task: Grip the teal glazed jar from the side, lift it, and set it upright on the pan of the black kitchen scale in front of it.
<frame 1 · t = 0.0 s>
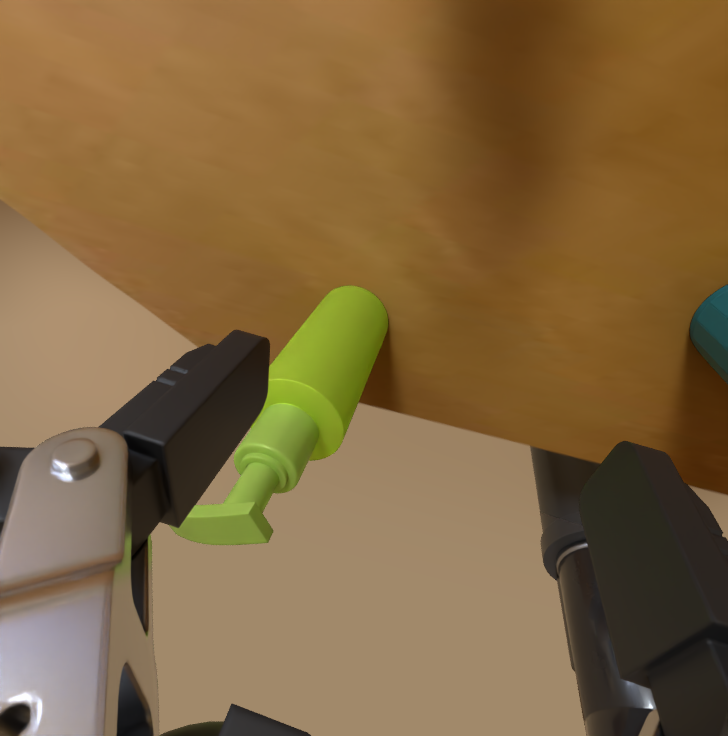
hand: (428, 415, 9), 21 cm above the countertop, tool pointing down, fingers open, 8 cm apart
soap dispenser: (348, 319, 33), on the countertop
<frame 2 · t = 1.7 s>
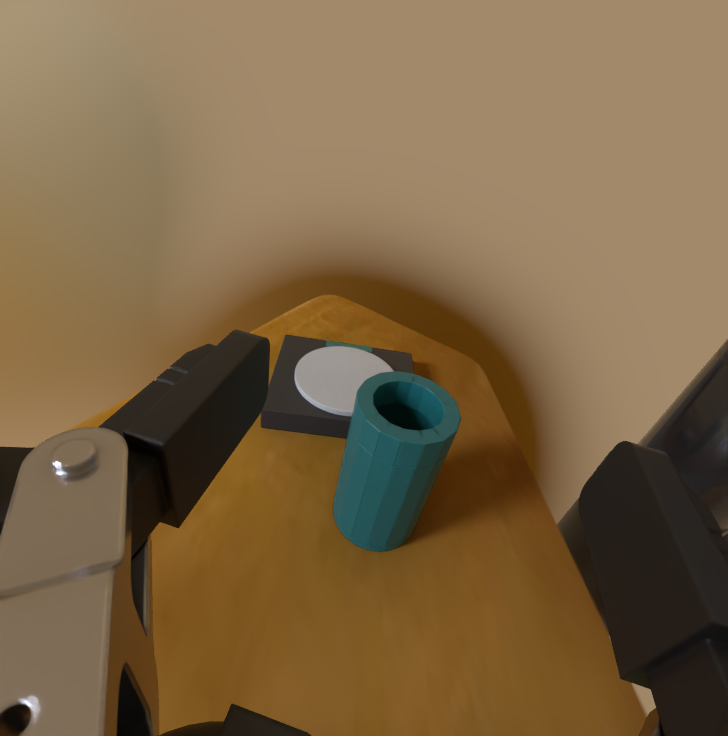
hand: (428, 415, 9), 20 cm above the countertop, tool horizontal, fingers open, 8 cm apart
jar: (374, 511, 30), on the countertop
scale: (343, 394, 40), on the countertop
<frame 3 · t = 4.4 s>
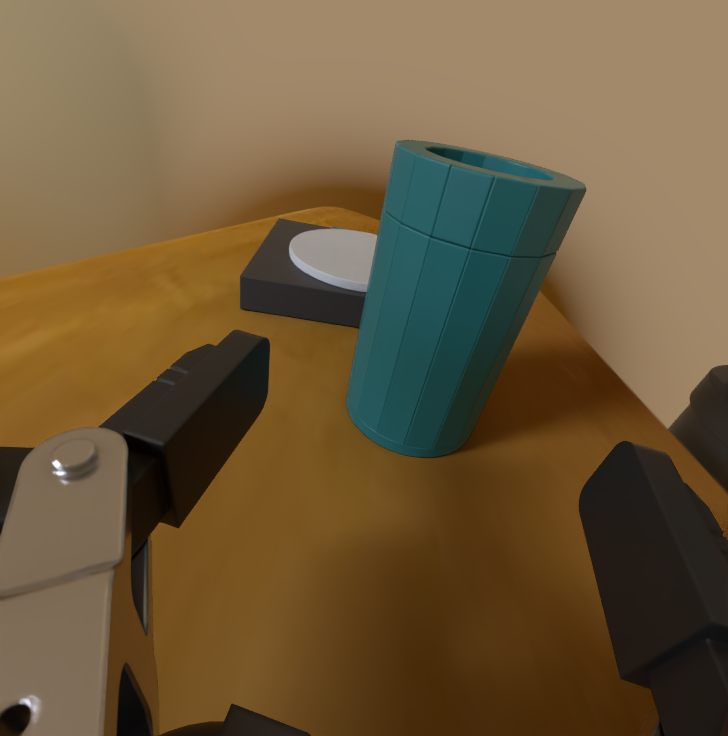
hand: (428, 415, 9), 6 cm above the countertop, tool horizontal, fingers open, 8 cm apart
jar: (408, 408, 19), on the countertop
scale: (355, 287, 30), on the countertop
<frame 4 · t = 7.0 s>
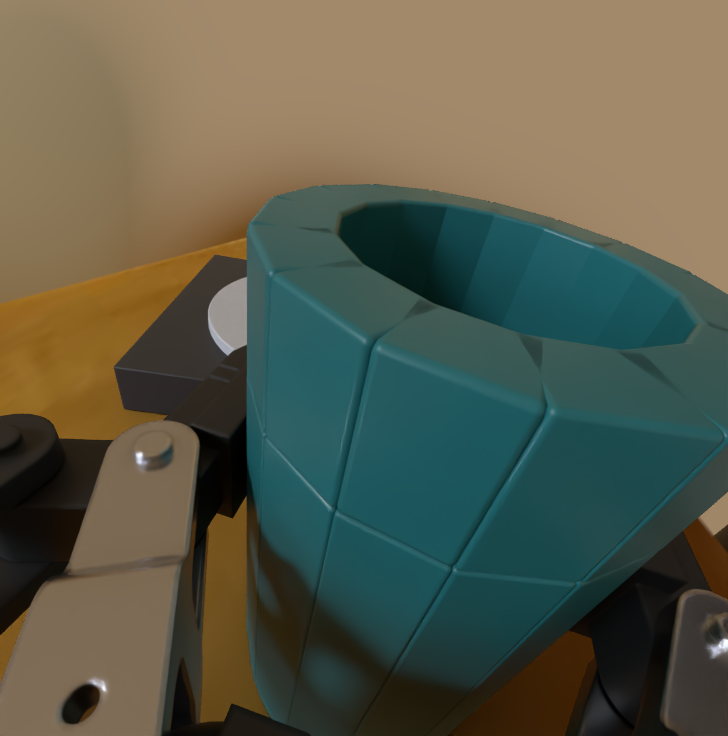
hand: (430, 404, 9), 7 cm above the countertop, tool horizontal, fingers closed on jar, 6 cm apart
jar: (360, 621, 11), on the countertop, touching gripper
scale: (311, 353, 22), on the countertop
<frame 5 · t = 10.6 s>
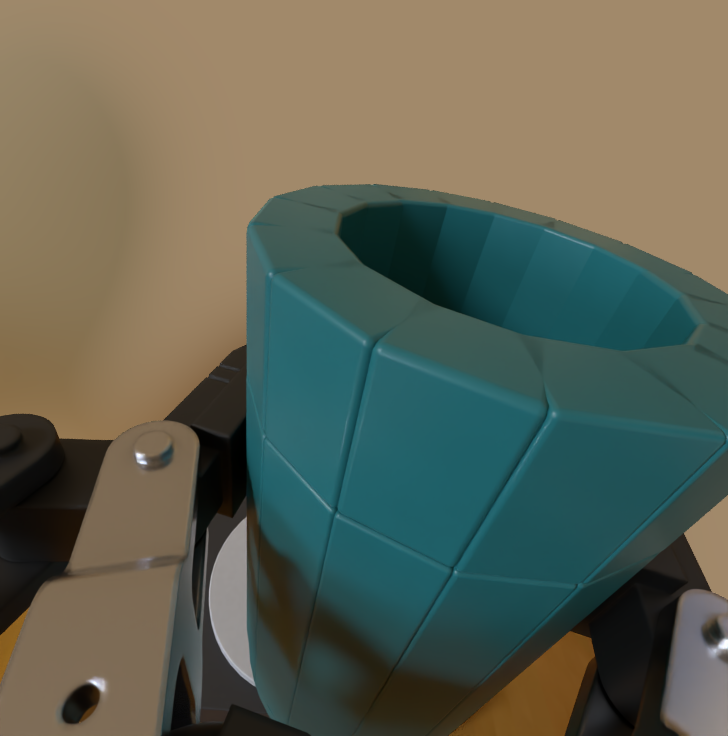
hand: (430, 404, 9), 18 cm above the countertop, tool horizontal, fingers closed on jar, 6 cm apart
jar: (360, 621, 11), point 11 cm above the countertop, touching gripper
scale: (308, 589, 22), on the countertop
when the fingers open (9 cm above the countertop, at t = 14.4 s): jar stays where it is, resting on scale.
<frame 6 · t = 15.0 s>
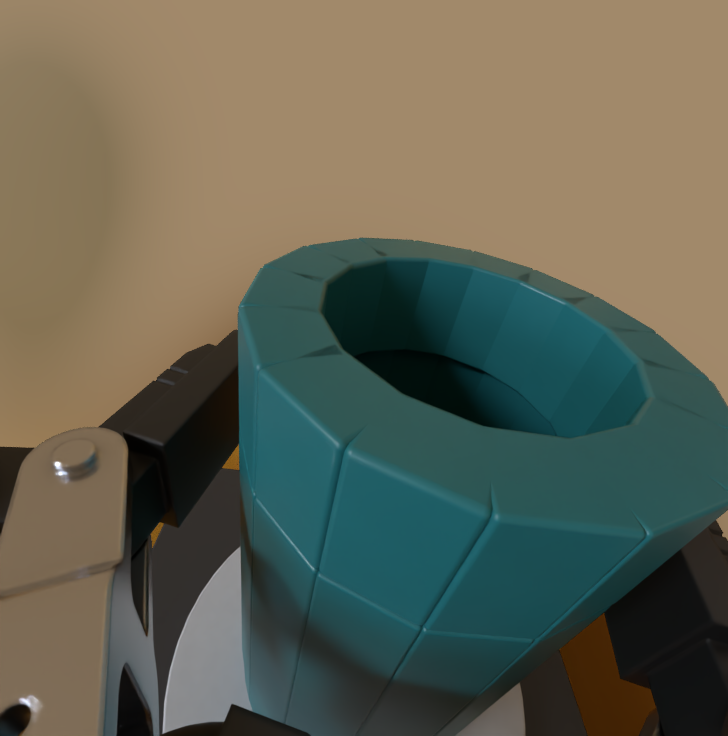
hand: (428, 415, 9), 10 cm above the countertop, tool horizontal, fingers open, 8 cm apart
jar: (352, 639, 12), point 3 cm above the countertop, touching scale
scale: (341, 669, 13), on the countertop
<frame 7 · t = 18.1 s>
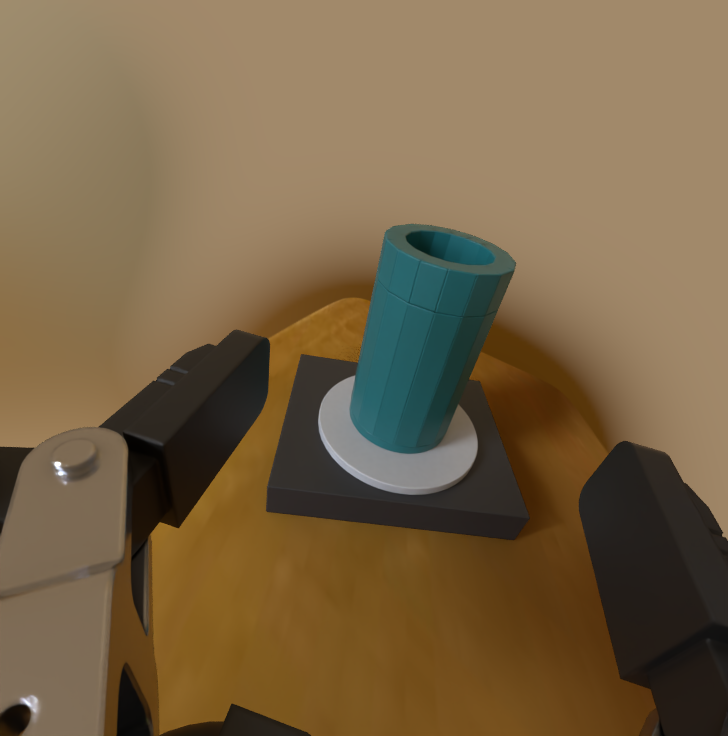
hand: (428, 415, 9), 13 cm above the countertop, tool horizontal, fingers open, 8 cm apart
jar: (397, 416, 25), point 3 cm above the countertop, touching scale
scale: (389, 445, 27), on the countertop
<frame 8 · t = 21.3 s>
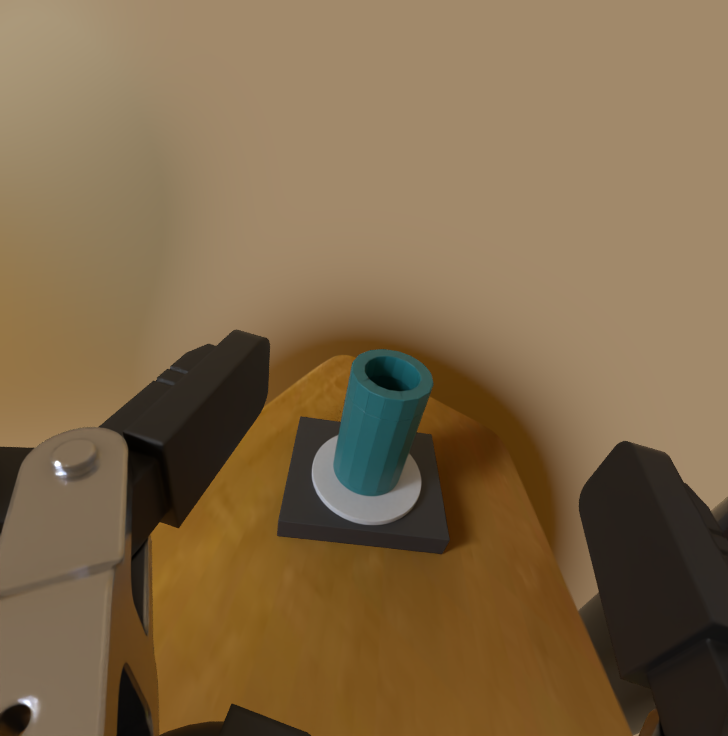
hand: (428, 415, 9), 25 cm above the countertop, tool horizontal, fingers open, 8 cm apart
jar: (366, 467, 36), point 3 cm above the countertop, touching scale
scale: (362, 485, 38), on the countertop
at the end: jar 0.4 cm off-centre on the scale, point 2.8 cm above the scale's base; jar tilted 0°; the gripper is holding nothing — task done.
